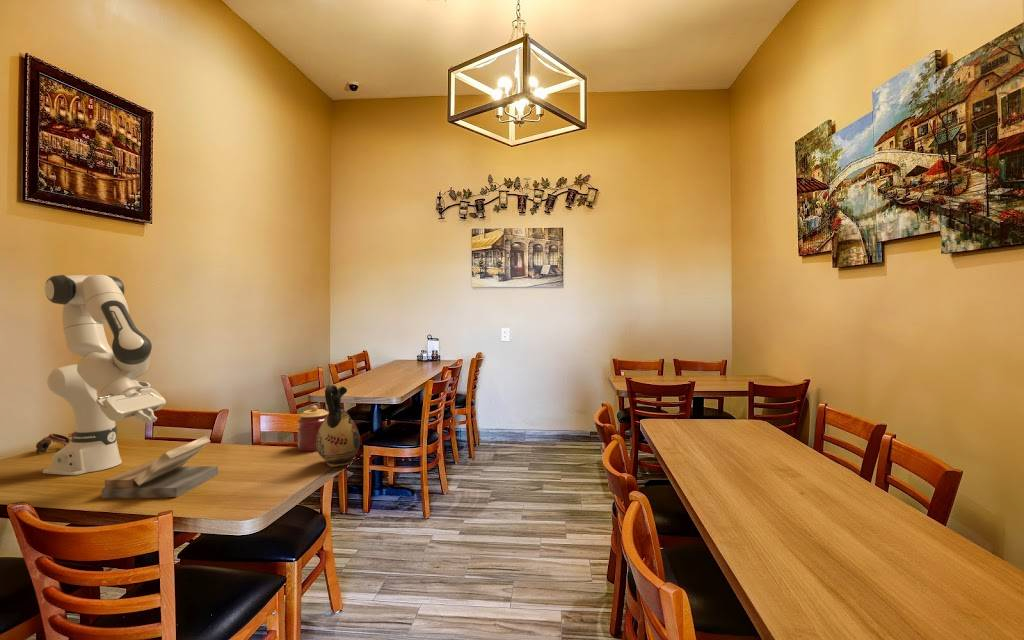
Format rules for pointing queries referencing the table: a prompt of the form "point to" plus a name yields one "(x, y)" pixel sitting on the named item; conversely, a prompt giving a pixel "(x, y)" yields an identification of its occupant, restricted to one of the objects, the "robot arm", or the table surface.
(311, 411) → the canister
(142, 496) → the grey flat block
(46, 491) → the table surface
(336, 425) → the ceramic jug
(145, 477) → the plank
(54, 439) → the strapped headlamp
